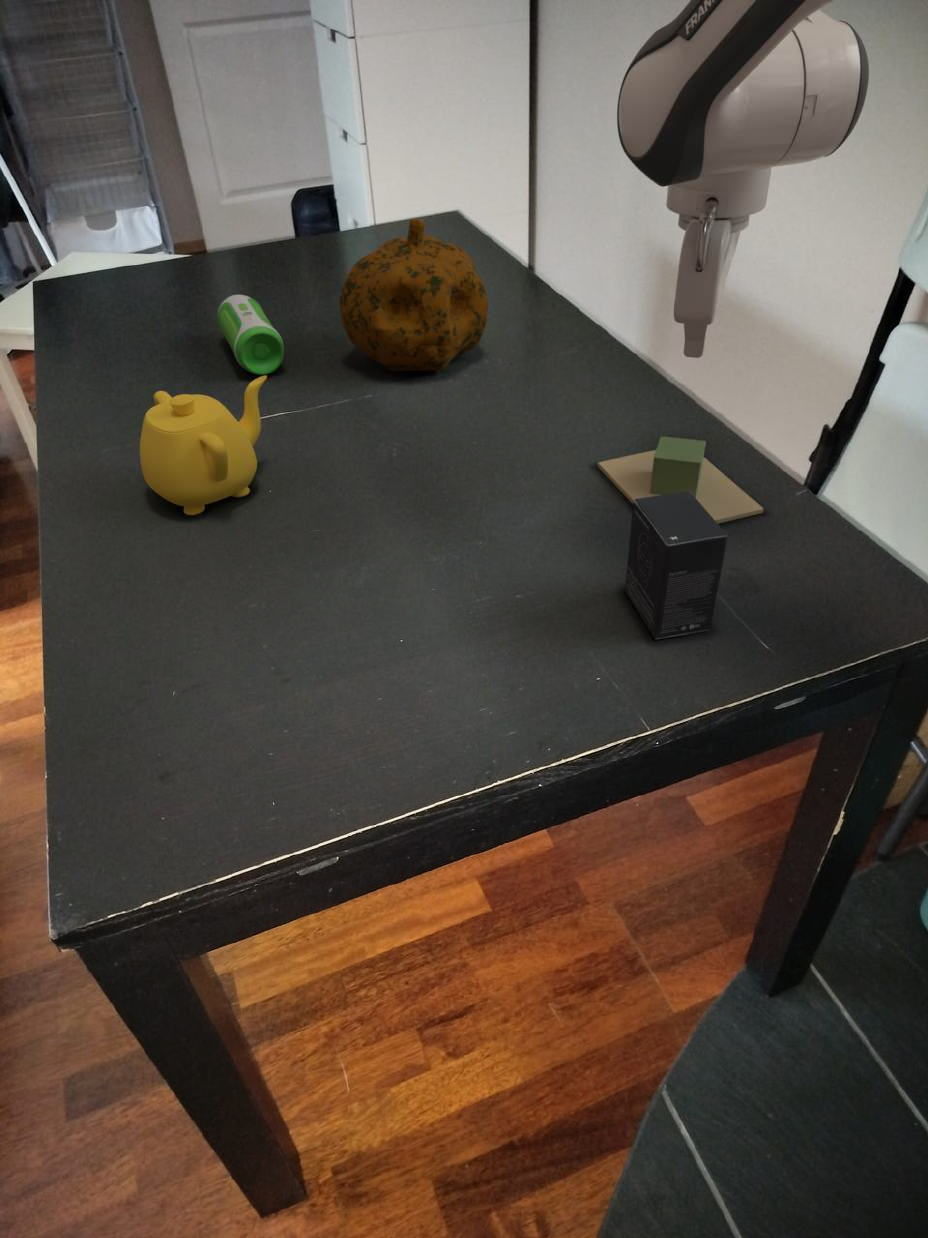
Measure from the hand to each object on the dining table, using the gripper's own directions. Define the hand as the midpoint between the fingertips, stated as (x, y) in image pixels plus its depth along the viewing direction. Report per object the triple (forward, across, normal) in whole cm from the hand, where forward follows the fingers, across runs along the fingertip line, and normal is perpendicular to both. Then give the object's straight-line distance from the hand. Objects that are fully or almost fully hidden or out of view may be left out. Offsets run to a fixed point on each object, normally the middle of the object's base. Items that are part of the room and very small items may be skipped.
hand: (699, 336), depth 86 cm
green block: (+17, 0, +1) cm, 17 cm away
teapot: (+17, -12, +52) cm, 57 cm away
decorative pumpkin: (+17, +28, +43) cm, 54 cm away
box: (+18, -22, -2) cm, 28 cm away
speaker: (+17, +23, +68) cm, 73 cm away
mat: (+18, 0, 0) cm, 18 cm away
